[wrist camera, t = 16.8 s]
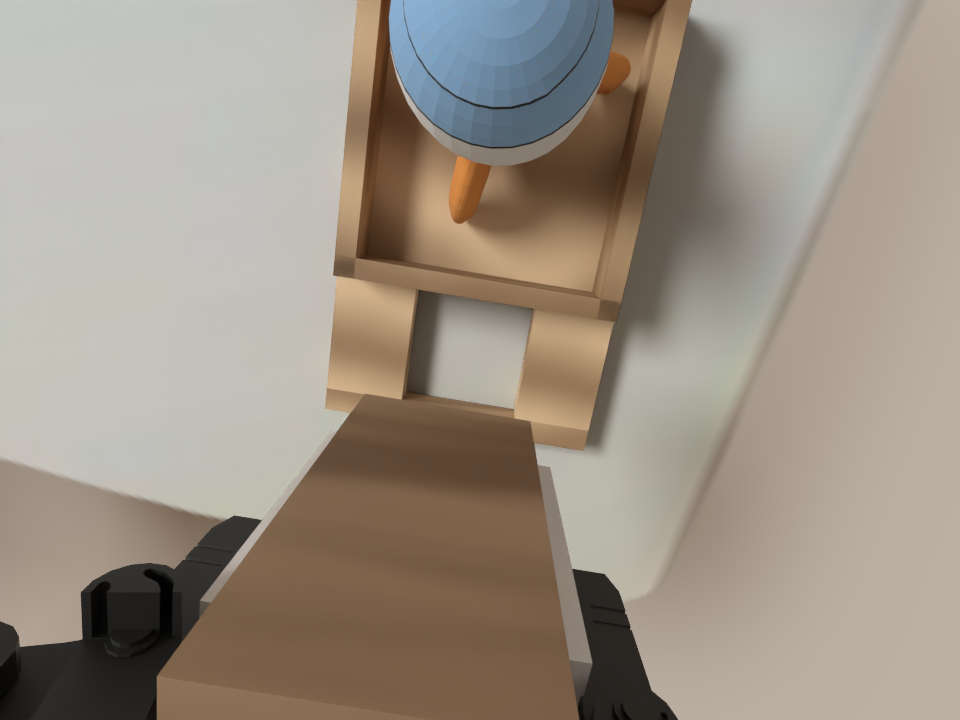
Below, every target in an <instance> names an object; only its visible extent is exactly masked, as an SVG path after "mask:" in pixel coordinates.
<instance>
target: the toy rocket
mask: <svg viewBox="0 0 960 720" xmlns="http://www.w3.org/2000/svg"><path fill="white" fill-rule="evenodd" d="M613 28H614V8H613V0H391V4H390V13H389V35H390V49H391V54H392V59H393V63H394V67H395V72H396V76H397V79H398V81H399V84H400V86H401V89H402V91H403V93H404V96H405V98H406V100H407V103H408V105H409V106H410V108H411V109H412V111H413V112H414V114H415V115H416V117H417V118H418V120H419V121H420V123H421V124H422V125H423V126H424V127H425V128H426V129H427V130H428V131H429V132H430V133H431V135H432V136H433V137H434V138H435V139H436V140H437V141H438V142H439V143H441V144H442V145H443V146H445V147H446V148H448V149H449V150H451V151H452V152H454V153H455V154H457V155H458V157H457V161H456V165H455V169H454V173H453V177H452V181H451V186H450V192H449V208H450V213H451V217H452V219H453V221H454V222H455V223H458V224H462V223H464V222H465V221H466V220H468V219H469V218H470V217H472V216H473V215H474V213H475V212H476V210H477V207H478V204H479V201H480V199H481V196H482V193H483V190H484V187H485V184H486V181H487V178H488V176H489V171H490V169H491V167H492V166H507V165H515V164H520V163H524V162H528V161H531V160H534V159H536V158H538V157H540V156H542V155H544V154H547V153H548V152H549V151H551V150H552V149H553V148H555V147H556V146H557V145H559V144H560V143H561V142H563V141H564V140H565V139H566V138H567V137H568V136H569V135H570V133H571V132H572V131H573V130H574V129H575V128H576V127H577V125H578V124H579V123H580V122H581V120H582V119H583V117H584V115H585V114H586V112H587V110H588V109H589V107H590V105H591V104H592V102H593V100H594V98H595V96H596V94H605V95H608V94H610V93H611V92H613V91H614V90H615V89H616V88H617V87H618V86H619V85H620V84H622V83H623V82H624V81H625V80H626V78H627V77H628V75H629V74H630V71H631V66H630V62H629V60H628V58H626V57H625V56H623V55H622V54H619V53H617V52H614V51H611V46H612V41H613Z"/></svg>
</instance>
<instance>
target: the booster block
mask: <svg viewBox="0 0 960 720" xmlns="http://www.w3.org/2000/svg"><path fill="white" fill-rule="evenodd" d="M157 720H579V715H578V708H577V702H576V696H575V690H574V684H573V678H572V672H571V666H570V660H569V654H568V648H567V641H566V635H565V629H564V623H563V617H562V611H561V605H560V599H559V593H558V587H557V581H556V574H555V568H554V562H553V556H552V550H551V544H550V538H549V532H548V526H547V520H546V514H545V507H544V501H543V495H542V489H541V483H540V477H539V471H538V465H537V459H536V453H535V446H534V440H533V434H532V428H531V422H530V421H527V420H521V419H515V418H509V417H503V416H497V415H491V414H485V413H479V412H473V411H467V410H461V409H455V408H449V407H443V406H437V405H431V404H425V403H419V402H413V401H407V400H401V399H395V398H389V397H383V396H377V395H371V394H364V396H363V397H362V398H361V400H360V401H359V403H358V404H357V405H356V407H355V408H354V409H353V411H352V412H351V413H350V415H349V416H348V417H347V419H346V420H345V422H344V423H343V424H342V426H341V427H340V428H339V430H338V431H337V432H336V434H335V435H334V437H333V438H332V439H331V441H330V442H329V443H328V445H327V446H326V447H325V449H324V450H323V451H322V453H321V454H320V456H319V457H318V458H317V460H316V461H315V462H314V464H313V465H312V466H311V468H310V469H309V470H308V472H307V473H306V475H305V476H304V477H303V479H302V480H301V481H300V483H299V484H298V485H297V487H296V488H295V489H294V491H293V492H292V494H291V495H290V496H289V498H288V499H287V500H286V502H285V503H284V504H283V506H282V507H281V508H280V510H279V511H278V513H277V514H276V515H275V517H274V518H273V519H272V521H271V522H270V523H269V525H268V526H267V527H266V529H265V530H264V532H263V533H262V534H261V536H260V537H259V538H258V540H257V541H256V542H255V544H254V545H253V546H252V548H251V549H250V551H249V552H248V553H247V555H246V556H245V557H244V559H243V560H242V561H241V563H240V564H239V566H238V567H237V568H236V570H235V571H234V572H233V574H232V575H231V576H230V578H229V579H228V580H227V582H226V583H225V585H224V586H223V587H222V589H221V590H220V591H219V593H218V594H217V595H216V597H215V598H214V599H213V601H212V602H211V604H210V605H209V606H208V608H207V609H206V610H205V612H204V613H203V614H202V616H201V617H200V618H199V620H198V621H197V623H196V624H195V625H194V627H193V628H192V629H191V631H190V632H189V633H188V635H187V636H186V637H185V639H184V640H183V642H182V643H181V644H180V646H179V647H178V648H177V650H176V651H175V652H174V654H173V655H172V656H171V658H170V659H169V661H168V662H167V663H166V665H165V666H164V667H163V669H162V670H161V671H160V673H159V674H158V675H157Z"/></svg>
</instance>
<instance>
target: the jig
mask: <svg viewBox="0 0 960 720" xmlns="http://www.w3.org/2000/svg"><path fill="white" fill-rule="evenodd" d="M691 3H692V0H613V8H614V28H613V41H612V46H611V51H614V52H617V53H619V54H622V55H623V56H625V57H626V58H628V60H629V62H630V66H631V71H630V74H629V75H628V77H627V78H626V80H625V81H624V82H623V83H622V84H620V85H619V86H618V87H617V88H616V89H615V90H614V91H613V92H611V93H610V94H608V95H605V94H596V96H595V98H594V100H593V102H592V104H591V105H590V107H589V109H588V110H587V112H586V114H585V115H584V117H583V119H582V120H581V122H580V123H579V124H578V125H577V127H576V128H575V129H574V130H573V131H572V132H571V133H570V135H569V136H568V137H567V138H566V139H565V140H564V141H563V142H561V143H560V144H559V145H557V146H556V147H555V148H553V149H552V150H551V151H549V152H548V153H547V154H544V155H542V156H540V157H538V158H536V159H534V160H531V161H528V162H524V163H520V164H515V165H507V166H492V167H491V169H490V171H489V176H488V178H487V181H486V184H485V187H484V190H483V193H482V196H481V199H480V201H479V204H478V207H477V210H476V212H475V213H474V215H473V216H472V217H470V218H469V219H468V220H466V221H465V222H464V223H462V224H458V223H455V222H454V221H453V219H452V217H451V213H450V208H449V192H450V186H451V181H452V177H453V173H454V169H455V165H456V161H457V157H458V155H457V154H455V153H454V152H452V151H451V150H449V149H448V148H446V147H445V146H443V145H442V144H441V143H439V142H438V141H437V140H436V139H435V138H434V137H433V136H432V135H431V133H430V132H429V131H428V130H427V129H426V128H425V127H424V126H423V125H422V124H421V123H420V121H419V120H418V118H417V117H416V115H415V114H414V112H413V111H412V109H411V108H410V106H409V105H408V103H407V100H406V98H405V96H404V93H403V91H402V89H401V86H400V84H399V81H398V79H397V76H396V72H395V67H394V63H393V59H392V54H391V49H390V35H389V13H390V4H391V0H358V1H357V12H356V24H355V35H354V46H353V57H352V69H351V80H350V91H349V103H348V114H347V125H346V136H345V148H344V159H343V170H342V182H341V193H340V204H339V215H338V227H337V238H336V249H335V261H334V272H333V275H334V276H337V284H336V295H335V306H334V317H333V328H332V339H331V350H330V361H329V372H328V383H327V394H326V405H325V409H330V410H336V411H342V412H349V413H351V412H352V411H353V409H354V408H355V407H356V405H357V404H358V403H359V401H360V400H361V398H362V397H363V396H364V394H371V395H377V396H383V397H389V398H395V399H401V400H407V401H413V402H419V403H425V404H431V405H437V406H443V407H449V408H455V409H461V410H467V411H473V412H479V413H485V414H491V415H497V416H503V417H509V418H515V419H521V420H527V421H530V422H531V428H532V434H533V440H534V443H539V444H545V445H551V446H558V447H564V448H570V449H576V450H582V451H584V448H585V443H586V439H587V435H588V431H589V426H590V422H591V418H592V413H593V409H594V405H595V401H596V396H597V392H598V388H599V383H600V379H601V375H602V371H603V366H604V362H605V358H606V353H607V349H608V345H609V341H610V336H611V332H612V328H613V323H614V322H616V323H617V319H618V314H619V310H620V306H621V301H622V297H623V293H624V289H625V284H626V280H627V276H628V272H629V267H630V263H631V259H632V255H633V250H634V246H635V242H636V238H637V233H638V229H639V225H640V221H641V216H642V212H643V208H644V204H645V199H646V195H647V191H648V186H649V182H650V178H651V174H652V169H653V165H654V161H655V157H656V152H657V148H658V144H659V140H660V135H661V131H662V127H663V123H664V118H665V114H666V110H667V106H668V101H669V97H670V93H671V89H672V84H673V80H674V76H675V71H676V67H677V63H678V59H679V54H680V50H681V46H682V42H683V37H684V33H685V29H686V25H687V20H688V16H689V12H690V8H691ZM419 290H424V291H430V292H436V293H442V294H448V295H454V296H460V297H466V298H472V299H478V300H484V301H490V302H496V303H502V304H508V305H514V306H520V307H526V308H532V309H533V312H532V317H531V323H530V328H529V333H528V338H527V343H526V349H525V354H524V359H523V364H522V370H521V375H520V380H519V385H518V391H517V396H516V401H515V406H514V409H508V408H501V407H495V406H489V405H483V404H477V403H471V402H465V401H459V400H452V399H446V398H440V397H434V396H428V395H422V394H416V393H410V392H406V387H407V379H408V372H409V364H410V357H411V349H412V342H413V334H414V327H415V319H416V311H417V304H418V296H419Z"/></svg>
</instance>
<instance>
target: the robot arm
mask: <svg viewBox="0 0 960 720" xmlns="http://www.w3.org/2000/svg"><path fill="white" fill-rule="evenodd" d="M335 434H336V432H334V431H331V432H330V433H329V435H328V436H327V437H326V438H325V440H324V441H323V442H322V444H321V445H320V446H319V447H318V449H317V450H316V451H315V453H314V454H313V455H312V456H311V458H310V459H309V460H308V462H307V463H306V464H305V466H304V467H303V468H302V469H301V471H300V472H299V473H298V475H297V476H296V477H295V478H294V480H293V481H292V482H291V484H290V485H289V486H288V488H287V489H286V490H285V491H284V493H283V494H282V495H281V497H280V498H279V499H278V500H277V502H276V503H275V504H274V506H273V507H272V508H271V509H270V511H269V512H268V513H267V515H266V516H265V517H264V519H263V520H258V519H252V518H246V517H240V516H233V517H231V518H229V519H227V520H226V521H224V522H222V523H220V524H218V525H216V526H215V527H213V528H212V529H211V530H210V531H209V532H208V533H207V534H206V535H205V536H204V538H203V539H202V540H201V541H200V542H199V543H198V546H197V547H194V548H193V550H192V551H191V552H190V553H189V554H188V555H187V556H186V559H185V560H183V561H182V562H181V563H180V564H179V565H178V566H177V567H176V568H175V569H172V568H170V567H169V566H167V565H160V564H153V563H146V564H135V565H129V566H125V567H122V568H119V569H116V570H112V571H110V572H108V573H106V574H104V575H102V576H101V577H99V578H97V579H95V580H93V581H92V582H91V583H90V584H89V585H88V586H87V587H86V588H85V589H84V590H83V591H82V592H81V607H82V633H83V639H82V640H79V641H73V642H66V643H57V644H46V645H36V646H26V647H20V644H19V636H18V634H17V632H16V631H15V629H14V627H13V626H11V625H8V624H5V623H3V622H0V720H157V675H158V674H159V673H160V671H161V670H162V669H163V667H164V666H165V665H166V663H167V662H168V661H169V659H170V658H171V656H172V655H173V654H174V652H175V651H176V650H177V648H178V647H179V646H180V644H181V643H182V642H183V640H184V639H185V637H186V636H187V635H188V633H189V632H190V631H191V629H192V628H193V627H194V625H195V624H196V623H197V621H198V620H199V618H200V617H201V616H202V614H203V613H204V612H205V610H206V609H207V608H208V606H209V605H210V604H211V602H212V601H213V599H214V598H215V597H216V595H217V594H218V593H219V591H220V590H221V589H222V587H223V586H224V585H225V583H226V582H227V580H228V579H229V578H230V576H231V575H232V574H233V572H234V571H235V570H236V568H237V567H238V566H239V564H240V563H241V561H242V560H243V559H244V557H245V556H246V555H247V553H248V552H249V551H250V549H251V548H252V546H253V545H254V544H255V542H256V541H257V540H258V538H259V537H260V536H261V534H262V533H263V532H264V530H265V529H266V527H267V526H268V525H269V523H270V522H271V521H272V519H273V518H274V517H275V515H276V514H277V513H278V511H279V510H280V508H281V507H282V506H283V504H284V503H285V502H286V500H287V499H288V498H289V496H290V495H291V494H292V492H293V491H294V489H295V488H296V487H297V485H298V484H299V483H300V481H301V480H302V479H303V477H304V476H305V475H306V473H307V472H308V470H309V469H310V468H311V466H312V465H313V464H314V462H315V461H316V460H317V458H318V457H319V456H320V454H321V453H322V451H323V450H324V449H325V447H326V446H327V445H328V443H329V442H330V441H331V439H332V438H333V437H334V435H335ZM538 471H539V477H540V483H541V489H542V495H543V501H544V507H545V514H546V520H547V526H548V532H549V538H550V544H551V550H552V556H553V562H554V568H555V574H556V581H557V587H558V593H559V599H560V605H561V611H562V617H563V623H564V629H565V635H566V641H567V648H568V654H569V660H570V666H571V672H572V678H573V684H574V690H575V696H576V702H577V708H578V715H579V720H678V719H677V717H676V716H675V714H674V713H673V711H672V710H671V709H670V707H669V706H668V705H667V703H666V702H665V701H663V700H662V699H661V698H660V697H659V696H657V695H656V694H655V693H654V692H653V691H652V690H651V687H650V685H649V681H648V678H647V675H646V673H645V669H644V666H643V663H642V660H641V657H640V654H639V651H638V648H637V645H636V642H635V639H634V636H633V633H632V631H631V630H630V624H629V621H628V617H627V615H626V614H625V608H624V605H623V602H622V599H621V596H620V593H619V591H618V590H617V589H616V588H615V586H614V585H613V584H612V583H611V581H610V580H609V579H608V578H607V577H606V575H605V574H601V573H595V572H588V571H582V570H576V569H572V566H571V562H570V557H569V553H568V548H567V543H566V539H565V534H564V529H563V525H562V520H561V516H560V511H559V506H558V502H557V497H556V492H555V488H554V483H553V479H552V474H551V469H550V467H546V466H540V465H538Z"/></svg>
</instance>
